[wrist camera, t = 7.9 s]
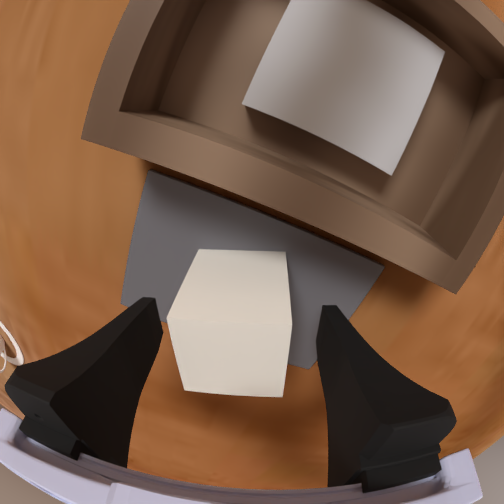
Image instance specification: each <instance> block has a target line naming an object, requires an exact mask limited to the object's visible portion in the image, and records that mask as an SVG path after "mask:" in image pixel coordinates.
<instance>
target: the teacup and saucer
mask: <svg viewBox="0 0 504 504" xmlns="http://www.w3.org/2000/svg"><path fill="white" fill-rule="evenodd" d="M0 326H1V328H2V329H3V330H4V331H5V332H6V334H7V335H8V336H9V338H10V339H11V341H12V343H13V345H14V347H15V349H16V352H17V357H16V358H11V357H8V356H7V355H6V349H5V342H4V339H3V338H2V336H1V335H0V355H1V356H2V357H3V358H4V359H5V364H4V367H3V369H2V370H0V373H1V372H3V371H4V370H5V368H6V363H7V361H9V362H10V363H12V364H15V365H19V366H20V365H22V364H23V363H24V357H23V354H22V352H21V349H20V347H19V346H18V344H17V342H16V341H15V339H14V338H13V336H12V335H11V333H10V332H9V331H8V330H7V328H6V327H5V326H4V325H3V324H2V322H1V321H0ZM3 350H4V353H3V352H2V351H3Z"/></svg>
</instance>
